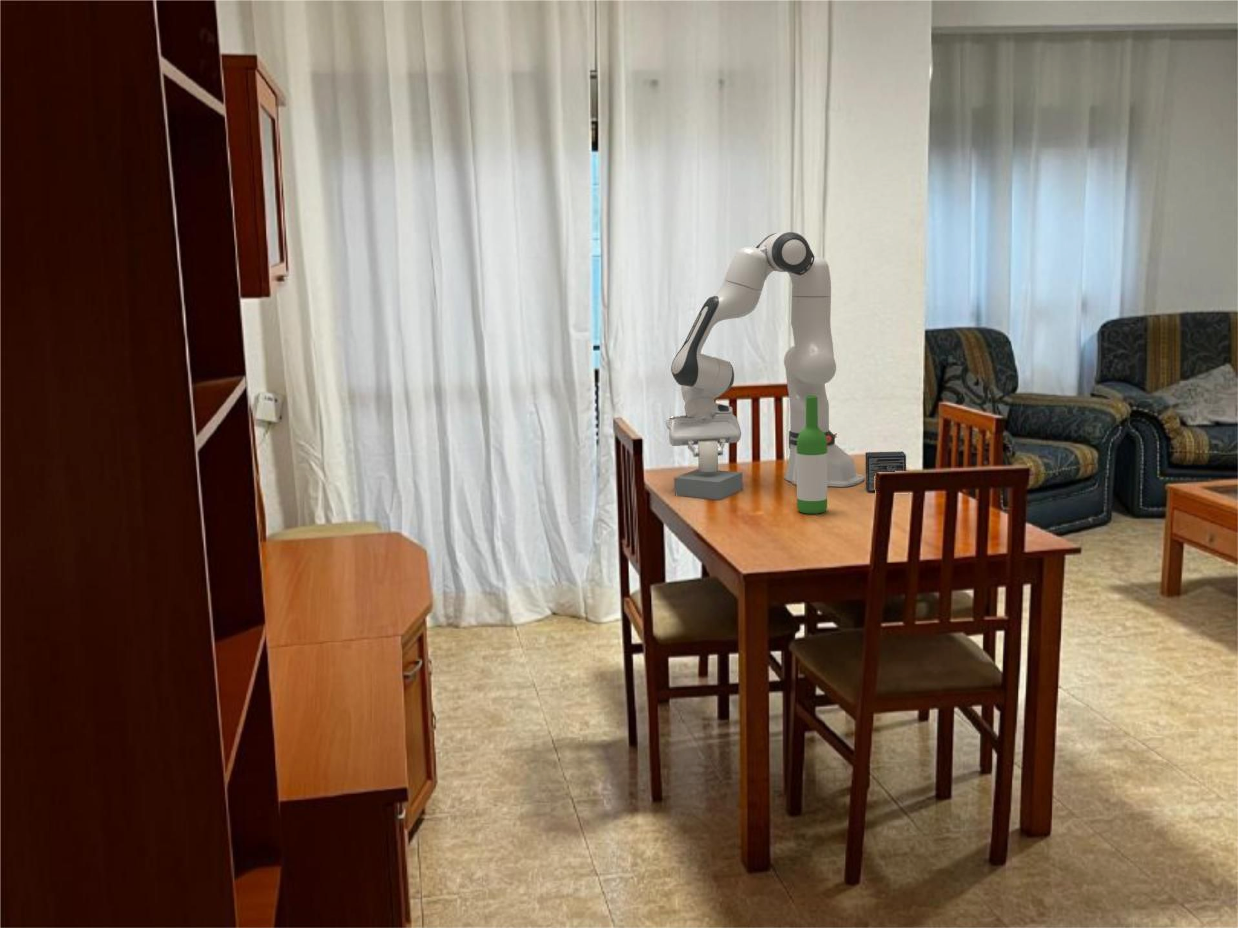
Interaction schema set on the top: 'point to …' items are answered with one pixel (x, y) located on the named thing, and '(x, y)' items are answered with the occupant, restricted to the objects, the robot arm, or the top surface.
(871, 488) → the small box
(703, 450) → the cylinder
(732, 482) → the plinth
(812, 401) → the wine bottle
